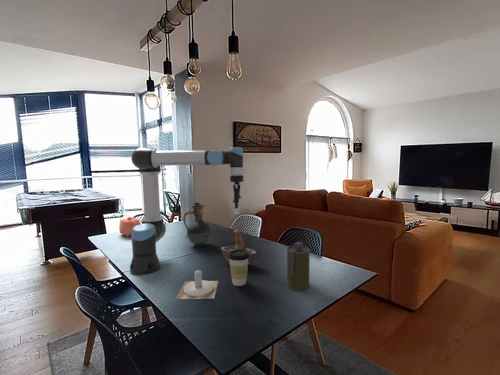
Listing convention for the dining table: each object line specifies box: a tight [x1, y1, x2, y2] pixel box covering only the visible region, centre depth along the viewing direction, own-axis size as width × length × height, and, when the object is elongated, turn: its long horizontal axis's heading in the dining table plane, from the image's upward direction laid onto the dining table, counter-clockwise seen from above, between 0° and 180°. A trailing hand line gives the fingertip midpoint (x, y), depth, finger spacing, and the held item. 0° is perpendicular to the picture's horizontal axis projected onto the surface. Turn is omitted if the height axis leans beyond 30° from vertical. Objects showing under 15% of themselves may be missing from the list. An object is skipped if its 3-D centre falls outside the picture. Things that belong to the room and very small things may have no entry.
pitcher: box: [182, 202, 212, 248], centre depth 176 cm, size 11×19×30 cm, turn 131°
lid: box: [184, 269, 213, 297], centre depth 118 cm, size 13×13×8 cm
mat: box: [175, 280, 219, 300], centre depth 118 cm, size 16×16×1 cm
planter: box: [220, 229, 257, 265], centre depth 145 cm, size 15×17×20 cm
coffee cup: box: [228, 249, 249, 287], centre depth 123 cm, size 10×10×15 cm
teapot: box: [119, 216, 141, 238], centre depth 206 cm, size 22×13×14 cm, turn 46°
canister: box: [286, 241, 311, 292], centre depth 120 cm, size 11×10×20 cm
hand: (237, 211), depth 152 cm, fingers open, 13 cm apart
